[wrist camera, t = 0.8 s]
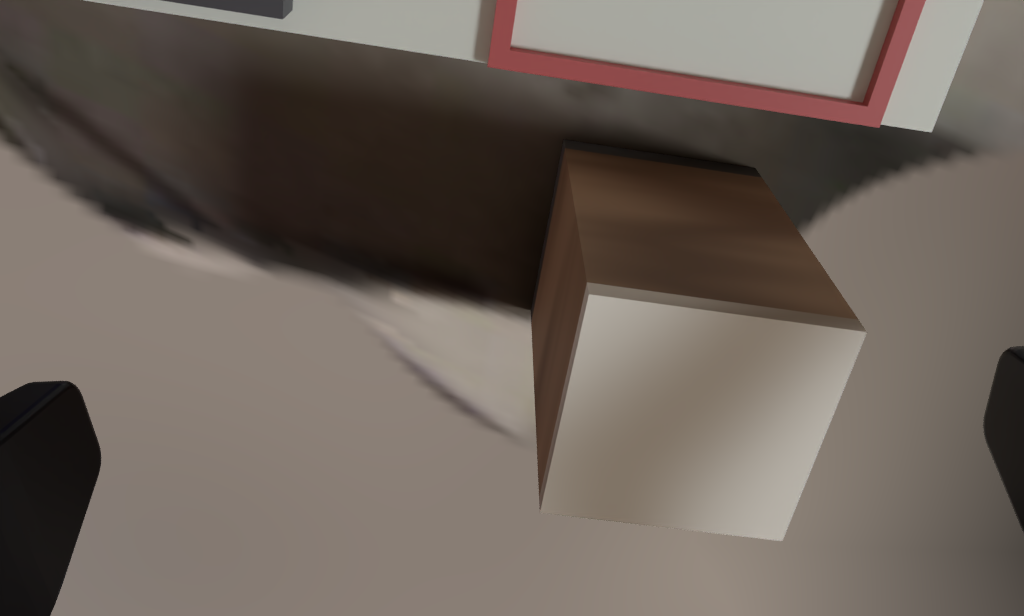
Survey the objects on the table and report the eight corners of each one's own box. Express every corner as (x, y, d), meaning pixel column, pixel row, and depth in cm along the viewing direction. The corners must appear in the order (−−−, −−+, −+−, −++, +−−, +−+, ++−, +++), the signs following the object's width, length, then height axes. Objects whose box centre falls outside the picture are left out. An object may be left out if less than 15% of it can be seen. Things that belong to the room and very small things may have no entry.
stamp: (755, 168, 21) (867, 331, 14) (704, 333, 23) (782, 541, 16) (563, 139, 20) (588, 294, 14) (530, 310, 23) (539, 512, 16)
